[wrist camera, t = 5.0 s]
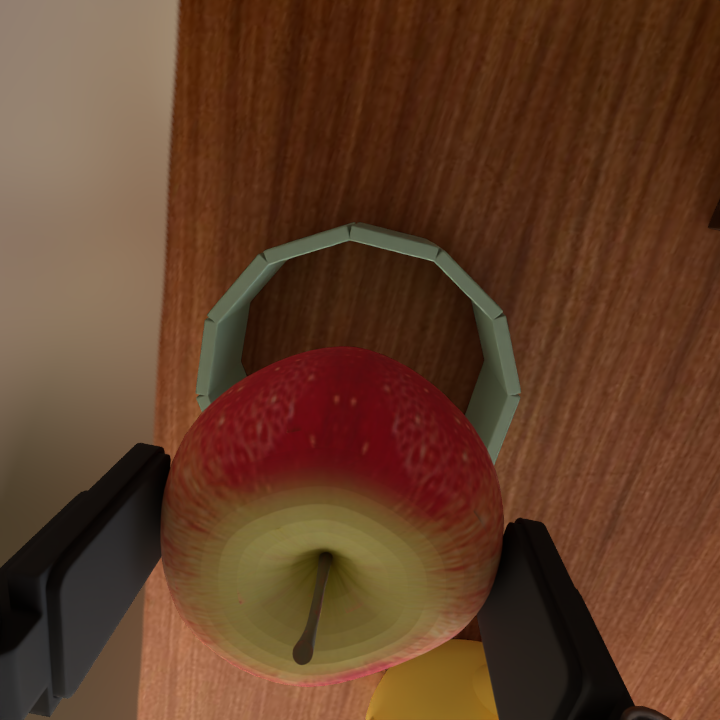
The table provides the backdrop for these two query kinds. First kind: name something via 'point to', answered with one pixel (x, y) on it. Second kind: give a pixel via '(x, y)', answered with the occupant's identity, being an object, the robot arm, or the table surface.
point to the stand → (715, 219)
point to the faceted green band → (498, 371)
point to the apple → (330, 519)
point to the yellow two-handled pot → (437, 686)
